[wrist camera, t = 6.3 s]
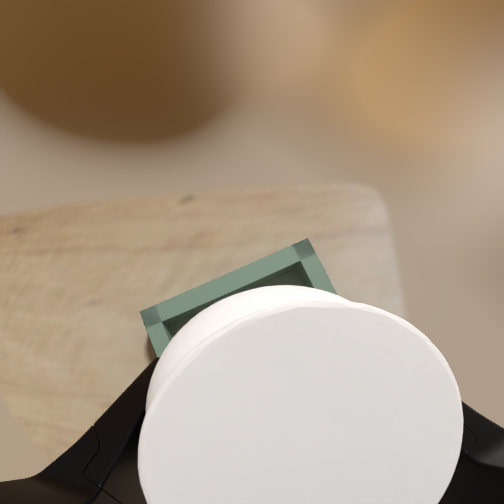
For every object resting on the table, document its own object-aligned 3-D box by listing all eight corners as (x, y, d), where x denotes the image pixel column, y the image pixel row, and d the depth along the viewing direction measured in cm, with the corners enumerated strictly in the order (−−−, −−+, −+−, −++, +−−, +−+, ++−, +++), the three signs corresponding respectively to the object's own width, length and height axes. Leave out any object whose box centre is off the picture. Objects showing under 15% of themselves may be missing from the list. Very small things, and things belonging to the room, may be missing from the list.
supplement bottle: (337, 416, 14) (510, 505, 2) (222, 453, 14) (179, 630, 1) (301, 306, 16) (436, 183, 4) (185, 341, 16) (26, 299, 3)
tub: (381, 413, 19) (395, 420, 17) (232, 484, 17) (230, 498, 15) (302, 249, 23) (307, 238, 21) (151, 315, 21) (139, 311, 19)
